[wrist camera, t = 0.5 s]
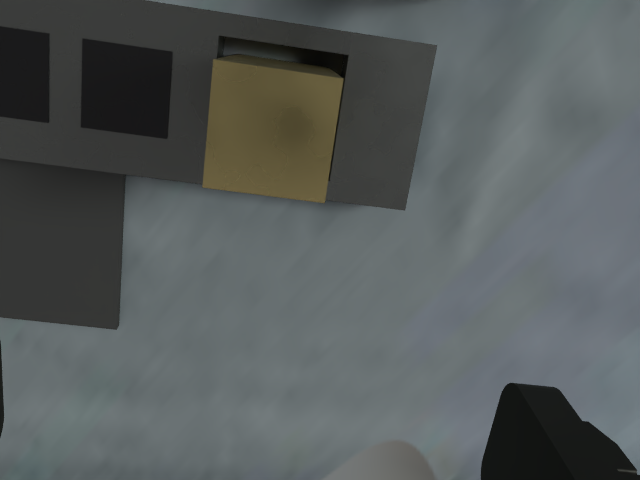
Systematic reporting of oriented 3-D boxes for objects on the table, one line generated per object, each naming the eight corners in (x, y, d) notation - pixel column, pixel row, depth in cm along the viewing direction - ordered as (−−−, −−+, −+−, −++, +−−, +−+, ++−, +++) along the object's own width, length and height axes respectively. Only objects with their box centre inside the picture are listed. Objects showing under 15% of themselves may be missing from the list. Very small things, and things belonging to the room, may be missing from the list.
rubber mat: (-53, 148, 31) (-59, 150, 30) (125, 172, 31) (123, 174, 31) (-45, 307, 33) (-50, 311, 33) (118, 325, 34) (116, 329, 34)
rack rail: (-29, -25, 28) (-60, -31, 26) (425, 45, 30) (437, 45, 27) (-23, 143, 30) (-51, 152, 28) (396, 198, 32) (405, 211, 30)
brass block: (238, 53, 30) (213, 59, 20) (327, 67, 30) (343, 78, 21) (229, 143, 31) (202, 187, 22) (314, 154, 31) (324, 203, 22)
